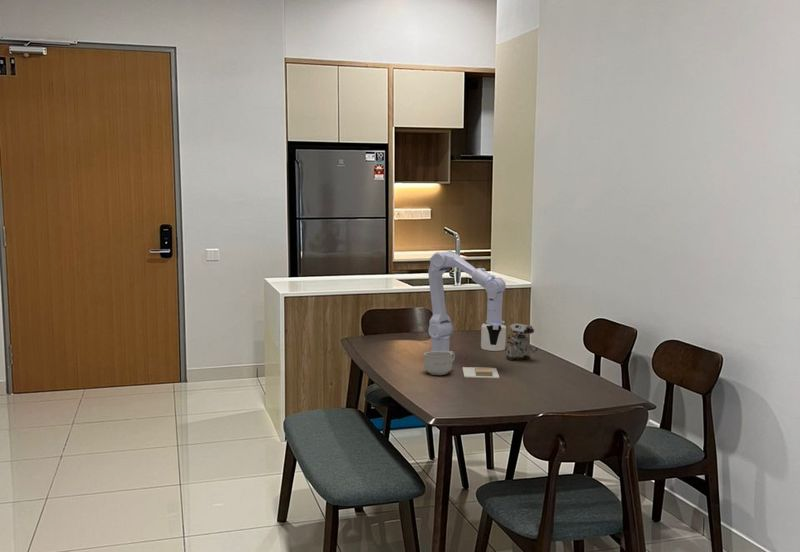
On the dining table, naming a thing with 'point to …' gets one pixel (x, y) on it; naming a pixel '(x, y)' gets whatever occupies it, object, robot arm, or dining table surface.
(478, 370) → the wooden block
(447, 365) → the teacup
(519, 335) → the figurine
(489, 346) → the toilet tissue
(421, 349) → the dining table surface
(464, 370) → the mat
